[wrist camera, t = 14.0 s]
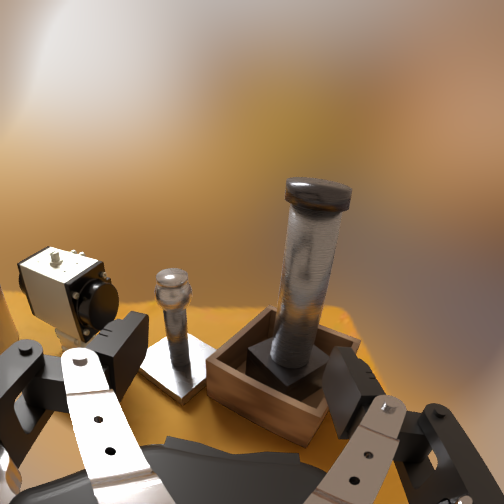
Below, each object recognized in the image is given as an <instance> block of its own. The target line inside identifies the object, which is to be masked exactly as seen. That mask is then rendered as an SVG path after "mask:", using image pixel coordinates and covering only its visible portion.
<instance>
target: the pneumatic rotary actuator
mask: <svg viewBox="0 0 504 504" xmlns="http://www.w3.org/2000/svg"><path fill="white" fill-rule="evenodd" d="M17 265H18V269H19V273H20V274H19V285H20V288H21V290H22V292H23V293H24V294H25V295H26V296H27V299H28V302H29V305H30V308H31V311H32V314H33V315H34V316H36V317H38V318H39V319H41V320H43V321H44V322H46V323H48V324H50V325H52V326H53V327H55V332H56V335H57V337H58V338H59V339H60V342H61V344H62V350H63V352H66V351H67V350H69V349H72V348H85V347H86V346H87V345H88V344H89V343H90V342H91V341H92V340H93V339H94V338H95V337H96V333H98V332H99V331H101V330H103V328H104V327H105V326H106V325H107V324H108V323H109V322H112V321H114V319H115V317H116V315H117V311H118V306H119V297H118V292H117V290H116V288H115V287H114V286H113V285H112V284H111V279H110V278H108V277H107V274H106V273H105V269H104V263H103V262H102V261H98V260H94V259H91V258H87V257H86V256H85V254H84V253H83V252H81V253H79V254H77V252H76V251H75V250H72V251H71V252H66V251H62V250H58V249H56V248H52V247H49V246H47V247H46V248H44V249H42V250H40V251H38V252H37V253H35V254H33V255H31V256H29V257H28V258H26V259H24V260H22V261H21V262H19V263H18V264H17Z"/></svg>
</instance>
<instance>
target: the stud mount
mask: <svg viewBox="0 0 504 504" xmlns="http://www.w3.org/2000/svg"><path fill="white" fill-rule="evenodd" d="M156 280H157V285H156V287H155V291H154V292H155V293H154V295H155V300H156V302H157V304H158V305H159V306H160V307H161V308H162V309H163V313H164V321H165V329H166V337H165V338H164V339H162V340H161V341H159V342H158V343H156V344H155V345H153V346H152V347H150V348H149V349H148V351H147V355H146V358H145V360H144V362H143V363H142V365H141V367H140V369H139V370H138V372H140V373H141V374H142V375H143V376H145V377H146V378H147V379H148V380H150V381H151V382H152V383H153V384H155V385H156V386H157V387H158V388H160V389H161V390H162V391H164V392H165V393H166V394H168V395H169V396H170V397H172V398H173V399H174V400H176V401H177V402H179V403H180V404H181V405H184V404H185V403H186V402H188V401H189V400H190V399H191V398H192V397H193V396H195V395H196V394H197V393H198V392H199V391H200V390H201V389H203V388H204V387H205V386H206V385H207V380H206V360H205V359H207V358H208V357H209V356H210V355H211V354H213V353H214V352H215V351H216V349H214V348H213V347H211V346H209V345H207V344H205V343H204V342H202V341H200V340H198V339H197V338H195V337H193V336H192V335H190V334H188V331H187V317H186V308H187V306H188V305H189V304H190V302H191V299H192V289H191V286H190V284H189V283H188V274H187V272H185V271H184V270H182V269H177V268H170V269H165V270H162V271H160V272H159V273H158V274H157V275H156Z"/></svg>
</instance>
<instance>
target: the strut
mask: <svg viewBox="0 0 504 504" xmlns="http://www.w3.org/2000/svg"><path fill="white" fill-rule="evenodd" d="M351 194H352V189H351V188H350V187H348V186H346V185H343V184H340V183H337V182H333V181H328V180H323V179H316V178H306V177H293V178H288V179H287V181H286V190H285V200H286V201H288V202H289V203H290V211H289V220H288V229H287V236H286V245H285V253H284V261H283V268H282V276H281V283H280V290H279V298H278V305H277V312H276V318H275V325H274V332H273V337H272V338H269V339H267V340H265V341H263V342H260V343H258V344H256V345H253V346H251V347H249V348H247V360H246V371H245V375H246V376H248V377H250V378H252V379H254V380H256V381H258V382H260V383H262V384H264V385H266V386H268V387H270V388H272V389H274V390H276V391H278V392H280V393H282V394H285V395H287V396H289V397H291V398H293V399H295V400H297V401H300V402H301V401H302V400H304V399H306V398H307V397H309V396H310V395H312V394H313V393H315V392H316V391H318V390H319V389H321V388H322V377H323V374H324V371H325V368H326V365H327V363H328V360H329V356H328V355H327V354H325V353H324V352H323V351H321V350H320V349H319V348H318V347H316V346H315V345H314V341H315V337H316V333H317V329H318V325H319V321H320V317H321V313H322V309H323V305H324V301H325V296H326V292H327V288H328V283H329V278H330V274H331V269H332V264H333V259H334V254H335V249H336V244H337V239H338V233H339V227H340V222H341V216H342V212H343V211H347V210H348V209H349V205H350V200H351Z"/></svg>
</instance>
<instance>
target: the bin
mask: <svg viewBox="0 0 504 504" xmlns="http://www.w3.org/2000/svg"><path fill="white" fill-rule="evenodd" d="M276 312H277V308H276V307H273V306H271V305H269V306H268V307H266V308H265V309H264V310H263V311H262V312H261V313H260V314H259V315H257V316H256V317H255V318H254V319H253V320H252V321H250V322H249V323H248V324H247V325H246V326H245V327H244V328H242V329H241V330H240V331H239V332H238V333H236V334H235V335H234V336H233V337H232V338H231V339H229V340H228V341H227V342H226V343H225V344H223V345H222V346H221V347H220V348H219V349H217V350H216V351H215V352H214V353H213V354H211V355H210V356H209V357H208V358H207V359H205V360H206V380H207V396H209V397H211V398H212V399H214V400H215V401H217V402H219V403H220V404H222V405H224V406H225V407H227V408H229V409H230V410H232V411H234V412H236V413H237V414H239V415H241V416H243V417H244V418H246V419H248V420H250V421H252V422H254V423H255V424H257V425H259V426H261V427H263V428H265V429H267V430H269V431H271V432H273V433H275V434H277V435H279V436H281V437H283V438H285V439H287V440H289V441H291V442H293V443H295V444H298V445H300V446H302V447H304V448H306V447H307V446H308V444H309V443H310V441H311V439H312V438H313V436H314V435H315V433H316V431H317V430H318V428H319V426H320V425H321V423H322V421H323V420H324V418H325V416H326V414H327V413H328V411H329V407H328V404H327V401H326V398H325V395H324V392H323V389H322V388H321V389H319V390H318V391H316V392H315V393H313V394H312V395H310V396H309V397H307V398H306V399H304V400H302V401H301V402H300V401H297V400H295V399H293V398H291V397H289V396H287V395H285V394H282V393H280V392H278V391H276V390H274V389H272V388H270V387H268V386H266V385H264V384H262V383H260V382H258V381H256V380H254V379H252V378H250V377H248V376H246V375H245V371H246V360H247V348H249V347H251V346H253V345H256V344H258V343H260V342H263V341H265V340H267V339H269V338H272V337H273V332H274V325H275V318H276ZM360 342H361V340H359V339H356V338H354V337H351V336H348V335H345V334H343V333H340V332H337V331H335V330H332V329H329V328H327V327H324V326H322V325H318V329H317V333H316V337H315V341H314V345H315V346H316V347H318V348H319V349H320V350H321V351H323V352H324V353H325V354H327V355H328V356H329V357H330V354H331V351H332V349H333V347H334V346H342V347H351V348H352V349H353V351H354V353H355V354H356V353H357V350H358V348H359V345H360Z"/></svg>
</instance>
